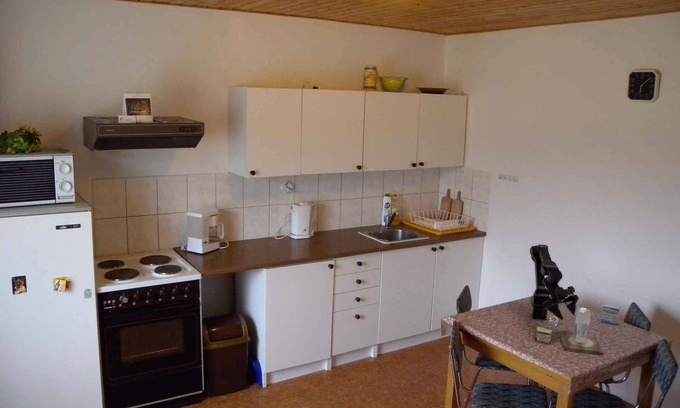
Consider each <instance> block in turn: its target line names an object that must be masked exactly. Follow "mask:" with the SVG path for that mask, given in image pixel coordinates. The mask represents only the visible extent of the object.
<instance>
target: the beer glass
mask: <svg viewBox="0 0 680 408" xmlns="http://www.w3.org/2000/svg"><path fill="white" fill-rule="evenodd" d="M591 313H592V310H590V309H589V308H586V307H576V308H575V313H574V315H573V334H572V335H573V338H572V340H573V341H574V342H576V343H580V344H585V343H586V342H587V341H586V337H587V333H588V330H589V328H590V324H591V317H592V316H591V315H592V314H591Z"/></svg>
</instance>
